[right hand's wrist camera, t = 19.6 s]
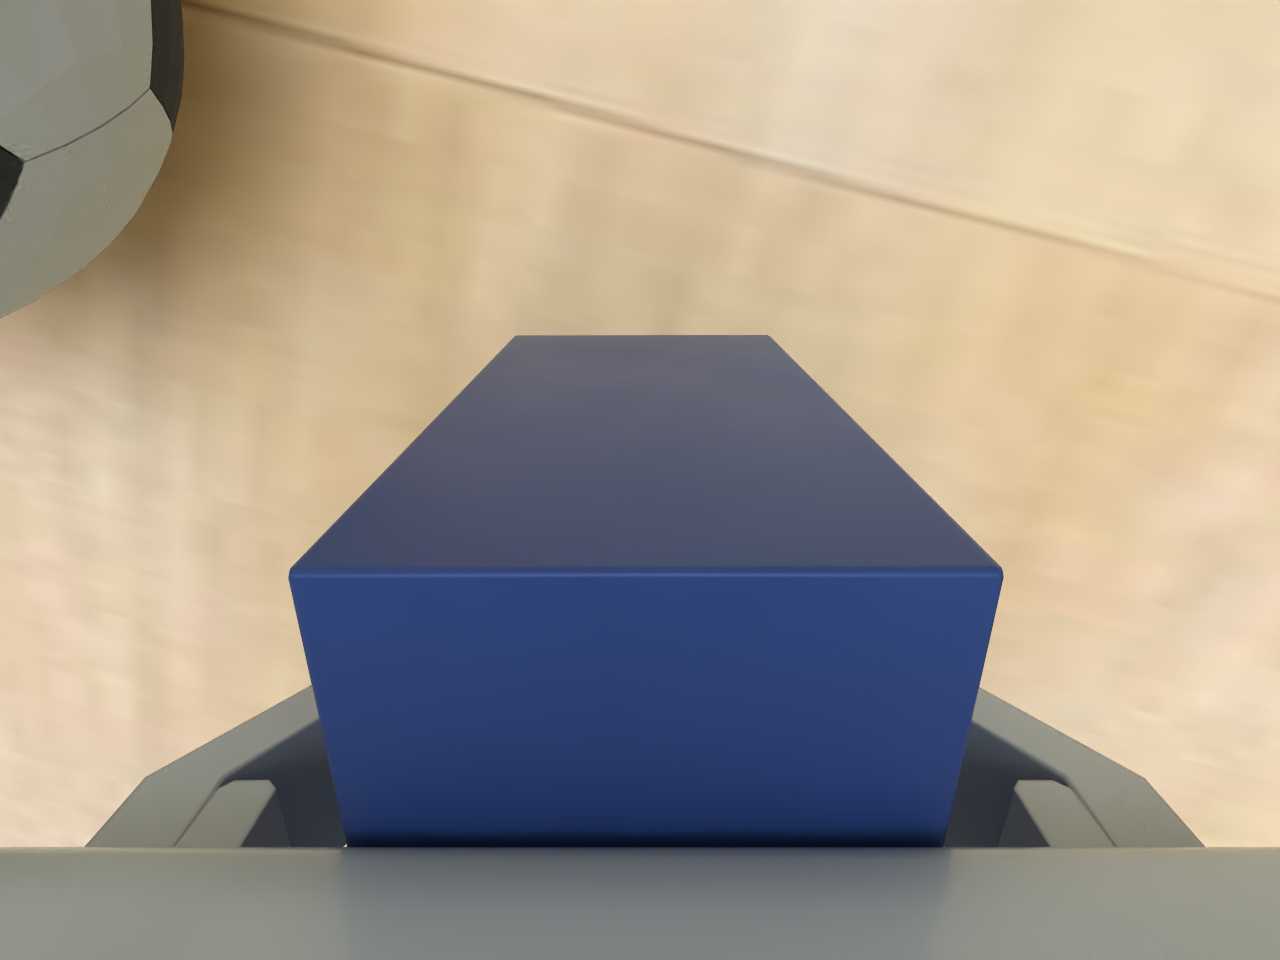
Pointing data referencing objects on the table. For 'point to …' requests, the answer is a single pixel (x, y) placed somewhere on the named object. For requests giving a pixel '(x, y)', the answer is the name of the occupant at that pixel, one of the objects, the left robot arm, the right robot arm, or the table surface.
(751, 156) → the table surface
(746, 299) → the table surface
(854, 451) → the brick
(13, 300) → the soccer ball
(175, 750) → the table surface
